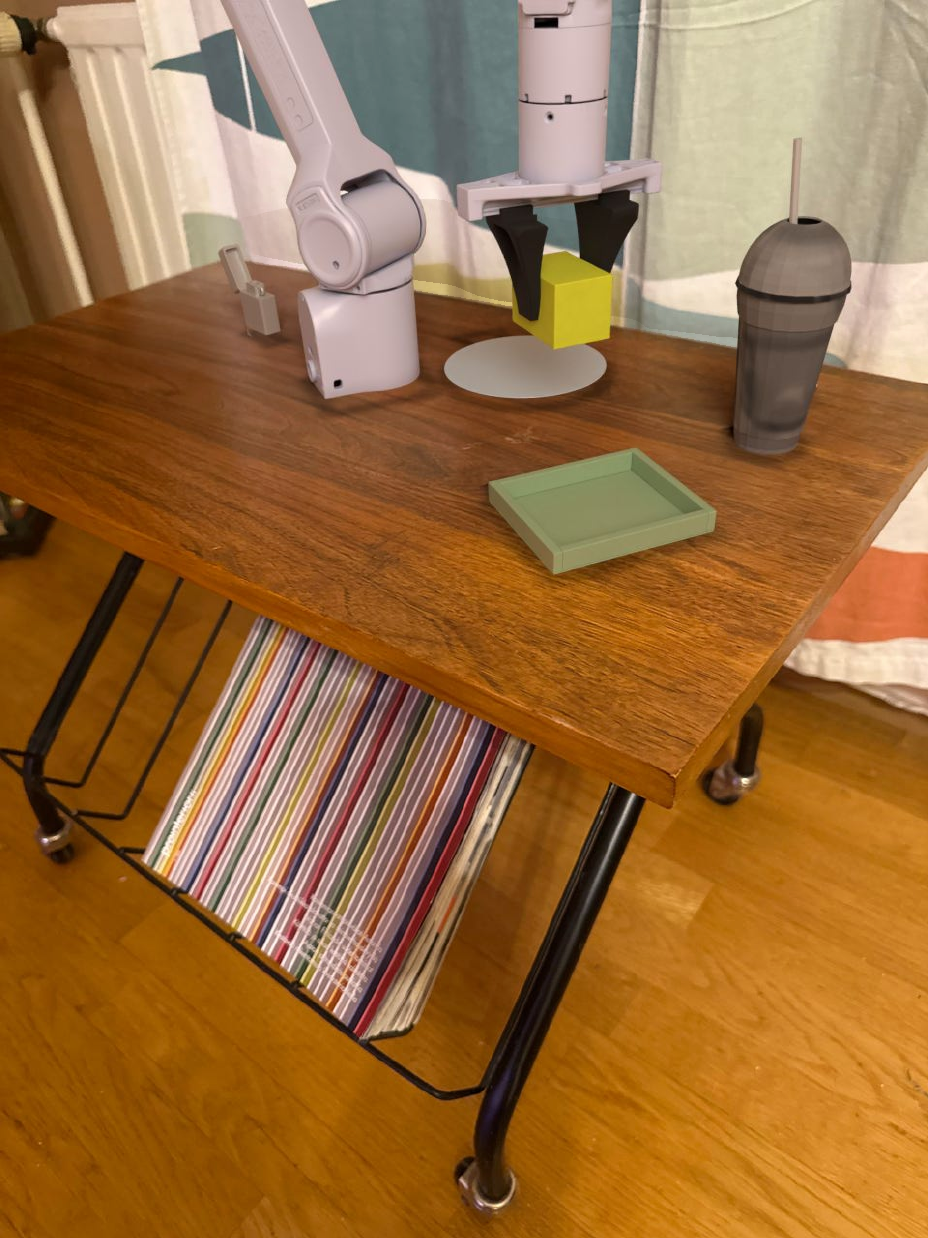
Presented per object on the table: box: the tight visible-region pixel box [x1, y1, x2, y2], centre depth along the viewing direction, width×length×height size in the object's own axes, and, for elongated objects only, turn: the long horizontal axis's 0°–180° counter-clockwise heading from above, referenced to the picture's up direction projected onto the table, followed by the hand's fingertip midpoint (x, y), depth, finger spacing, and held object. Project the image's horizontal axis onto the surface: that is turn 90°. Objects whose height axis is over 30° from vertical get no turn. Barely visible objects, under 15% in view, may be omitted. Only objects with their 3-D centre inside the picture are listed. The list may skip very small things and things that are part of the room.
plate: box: [443, 335, 608, 399], centre depth 78 cm, size 14×14×1 cm
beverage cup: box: [732, 137, 853, 455], centre depth 60 cm, size 7×7×20 cm
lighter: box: [217, 243, 282, 338], centre depth 87 cm, size 7×2×8 cm, turn 40°
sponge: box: [511, 250, 614, 350], centre depth 65 cm, size 4×7×4 cm, turn 22°
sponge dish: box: [488, 446, 718, 575], centre depth 58 cm, size 11×10×2 cm
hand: (559, 310), depth 66 cm, fingers closed on sponge, 4 cm apart
